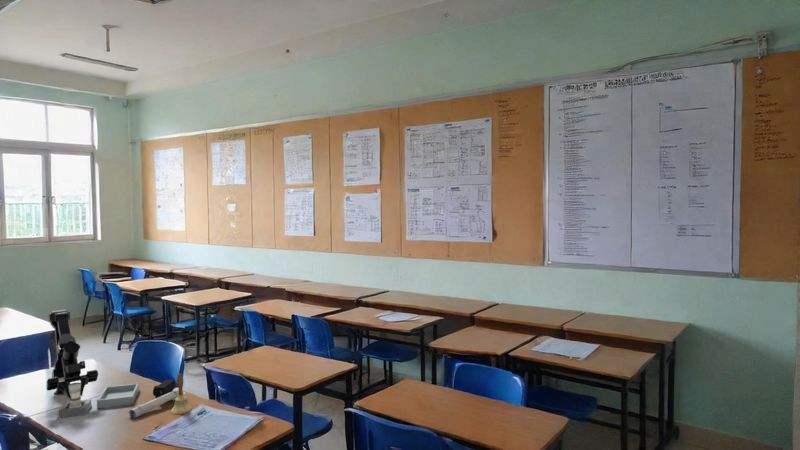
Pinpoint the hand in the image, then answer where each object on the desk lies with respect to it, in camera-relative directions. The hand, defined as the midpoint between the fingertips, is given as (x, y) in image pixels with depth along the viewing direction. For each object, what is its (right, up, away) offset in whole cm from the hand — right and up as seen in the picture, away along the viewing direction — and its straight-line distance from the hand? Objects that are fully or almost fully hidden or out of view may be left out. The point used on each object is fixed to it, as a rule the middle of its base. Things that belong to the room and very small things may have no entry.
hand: (75, 397), depth 220 cm
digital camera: (+30, -6, +17) cm, 35 cm away
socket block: (-1, -7, +1) cm, 7 cm away
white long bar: (+34, -7, +5) cm, 35 cm away
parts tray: (+10, -6, +16) cm, 20 cm away
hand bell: (+44, -7, +2) cm, 45 cm away
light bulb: (-1, -7, +1) cm, 7 cm away
